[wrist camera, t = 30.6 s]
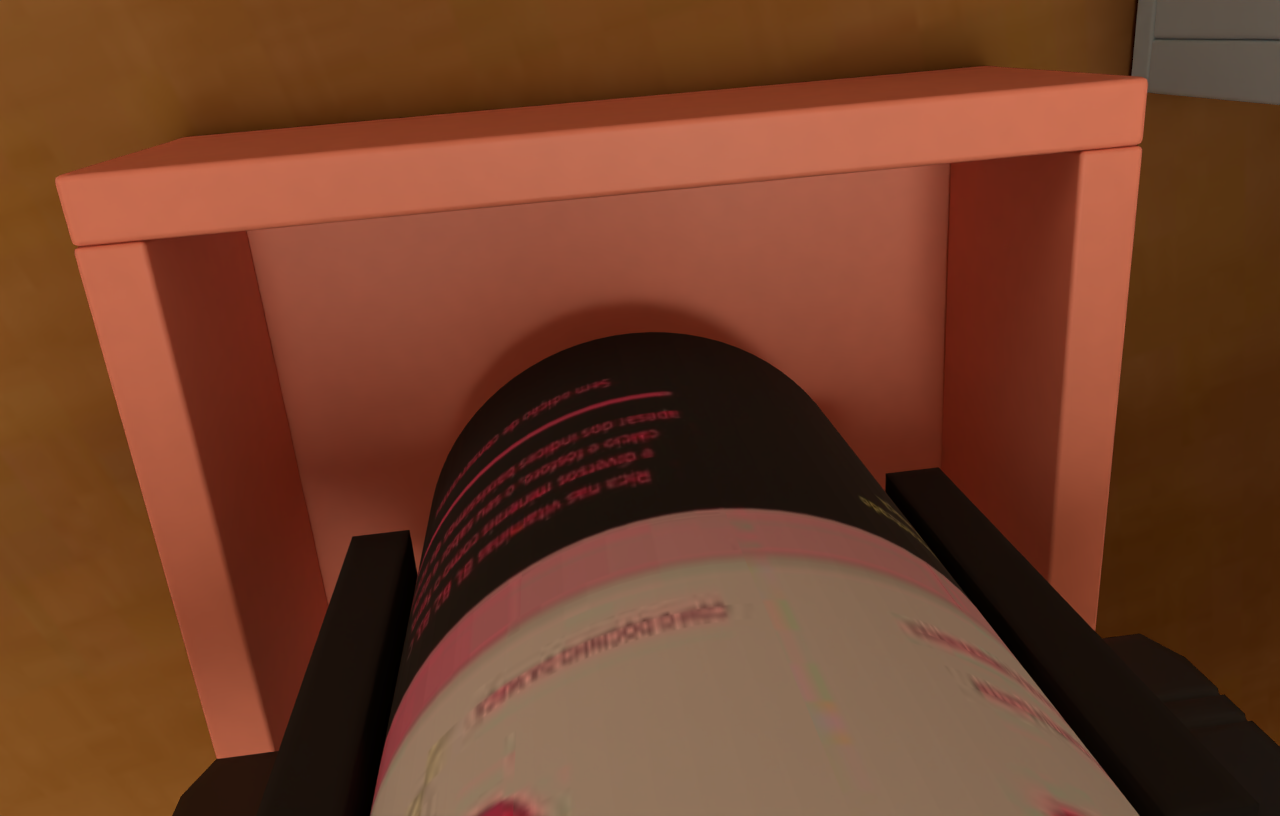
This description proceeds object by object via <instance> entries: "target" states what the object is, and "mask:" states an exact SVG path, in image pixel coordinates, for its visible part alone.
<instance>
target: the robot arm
mask: <svg viewBox="0 0 1280 816" xmlns="http://www.w3.org/2000/svg"><path fill="white" fill-rule="evenodd" d="M885 492H886V493H887V495H888V496H889V497H890V498H891V500H892V501H893V502H894V503H895V505H896V506H897V507H898V509H899V510H900V511H901V512H902V514H903V515H904V516H905V517H906V519H907V520H908V521H909V523H910V524H911V525H912V526H913V528H914V529H915V530H916V531H917V533H918V534H919V535H920V537H921V538H922V539H923V540H924V542H925V543H926V544H927V546H928V547H929V548H930V549H931V551H932V552H933V553H934V554H935V556H936V557H937V558H938V560H939V561H940V562H941V563H942V565H943V566H944V567H945V568H946V570H947V571H948V572H949V574H950V575H951V576H952V577H953V579H954V580H955V581H956V582H957V584H958V585H959V586H960V588H961V589H962V590H963V591H964V593H965V594H966V595H967V596H968V598H969V599H970V600H971V602H972V603H973V604H974V605H975V607H976V608H977V609H978V610H979V612H980V613H981V614H982V616H983V617H984V618H985V619H986V621H987V622H988V623H989V624H990V626H991V627H992V628H993V630H994V631H995V632H996V633H997V635H998V636H999V637H1000V638H1001V640H1002V641H1003V642H1004V644H1005V645H1006V646H1007V647H1008V649H1009V650H1010V651H1011V653H1012V654H1013V655H1014V656H1015V658H1016V659H1017V660H1018V661H1019V663H1020V664H1021V665H1022V667H1023V668H1024V669H1025V670H1026V672H1027V673H1028V674H1029V675H1030V677H1031V678H1032V679H1033V681H1034V682H1035V683H1036V684H1037V686H1038V687H1039V688H1040V689H1041V691H1042V692H1043V693H1044V695H1045V696H1046V697H1047V698H1048V700H1049V701H1050V702H1051V703H1052V705H1053V706H1054V707H1055V709H1056V710H1057V711H1058V712H1059V714H1060V715H1061V716H1062V717H1063V719H1064V720H1065V721H1066V723H1067V724H1068V725H1069V726H1070V728H1071V729H1072V730H1073V731H1074V733H1075V734H1076V735H1077V737H1078V738H1079V739H1080V740H1081V742H1082V743H1083V744H1084V745H1085V747H1086V748H1087V749H1088V751H1089V752H1090V753H1091V754H1092V756H1093V757H1094V758H1095V759H1096V761H1097V762H1098V763H1099V765H1100V766H1101V767H1102V768H1103V770H1104V771H1105V772H1106V774H1107V775H1108V776H1109V777H1110V779H1111V780H1112V781H1113V782H1114V784H1115V785H1116V786H1117V788H1118V789H1119V790H1120V791H1121V793H1122V794H1123V795H1124V796H1125V798H1126V799H1127V800H1128V802H1129V803H1130V804H1131V805H1132V807H1133V808H1134V809H1135V810H1136V812H1137V813H1138V814H1139V816H1280V747H1279V746H1278V745H1277V744H1276V743H1275V742H1274V741H1273V740H1272V739H1271V738H1270V737H1269V736H1268V735H1267V734H1265V733H1264V732H1263V731H1262V730H1261V729H1260V728H1259V727H1258V726H1257V725H1256V724H1255V723H1254V722H1253V721H1247V720H1246V718H1245V714H1244V713H1243V712H1242V711H1241V710H1240V709H1239V708H1238V707H1237V706H1236V705H1235V704H1234V703H1233V702H1232V701H1231V700H1230V699H1228V698H1227V697H1226V696H1225V695H1220V694H1219V692H1218V688H1217V687H1216V686H1215V685H1214V684H1213V683H1212V682H1211V681H1209V680H1208V679H1207V678H1206V677H1205V676H1204V675H1203V674H1202V673H1201V672H1200V671H1199V670H1198V669H1197V668H1196V667H1195V666H1194V665H1193V664H1191V663H1190V662H1189V661H1188V660H1187V659H1186V658H1185V657H1183V656H1181V655H1179V654H1177V653H1176V652H1174V651H1172V650H1170V649H1168V648H1166V647H1164V646H1162V645H1161V644H1159V643H1157V642H1155V641H1153V640H1151V639H1149V638H1147V637H1145V636H1144V635H1142V634H1133V635H1125V636H1118V637H1110V638H1103V639H1102V638H1101V637H1100V636H1099V635H1098V634H1097V633H1096V632H1095V631H1094V630H1093V629H1092V628H1091V627H1090V626H1089V625H1088V624H1087V622H1086V621H1085V620H1084V619H1083V618H1082V617H1081V616H1080V615H1079V614H1078V613H1077V612H1076V611H1075V610H1074V609H1073V608H1072V607H1071V606H1070V605H1069V604H1068V603H1067V601H1066V600H1065V599H1064V598H1063V597H1062V596H1061V595H1060V594H1059V593H1058V592H1057V591H1056V590H1055V589H1054V588H1053V587H1052V586H1051V585H1050V584H1049V583H1048V582H1047V580H1046V579H1045V578H1044V577H1043V576H1042V575H1041V574H1040V573H1039V572H1038V571H1037V570H1036V569H1035V568H1034V567H1033V566H1032V565H1031V564H1030V563H1029V562H1028V561H1027V559H1026V558H1025V557H1024V556H1023V555H1022V554H1021V553H1020V552H1019V551H1018V550H1017V549H1016V548H1015V547H1014V546H1013V545H1012V544H1011V543H1010V542H1009V541H1008V540H1007V538H1006V537H1005V536H1004V535H1003V534H1002V533H1001V532H1000V531H999V530H998V529H997V528H996V527H995V526H994V525H993V524H992V523H991V522H990V521H989V520H988V519H987V517H986V516H985V515H984V514H983V513H982V512H981V511H980V510H979V509H978V508H977V507H976V506H975V505H974V504H973V503H972V502H971V501H970V500H969V499H968V498H967V497H966V495H965V494H964V493H963V492H962V491H961V490H960V489H959V488H958V487H957V486H956V485H955V484H954V483H953V482H952V481H951V480H950V479H949V478H948V477H947V476H946V474H945V473H944V472H943V471H942V470H941V469H940V468H939V467H936V468H928V469H919V470H911V471H902V472H894V473H886V482H885ZM417 575H418V574H417V568H416V563H415V557H414V552H413V546H412V541H411V535H410V530H403V531H395V532H386V533H378V534H369V535H361V536H352V539H351V542H350V545H349V548H348V550H347V553H346V556H345V559H344V562H343V565H342V568H341V571H340V574H339V577H338V580H337V582H336V585H335V588H334V591H333V594H332V597H331V600H330V603H329V606H328V609H327V611H326V614H325V617H324V620H323V623H322V626H321V629H320V632H319V635H318V638H317V641H316V643H315V646H314V649H313V652H312V655H311V658H310V661H309V664H308V667H307V670H306V672H305V675H304V678H303V681H302V684H301V687H300V690H299V693H298V696H297V699H296V702H295V704H294V707H293V710H292V713H291V716H290V719H289V722H288V725H287V728H286V731H285V733H284V736H283V739H282V742H281V745H280V748H279V751H274V752H266V753H258V754H251V755H243V756H236V757H228V758H221V759H216V760H215V761H214V762H213V763H212V764H211V766H210V767H209V768H208V769H207V770H206V771H205V772H204V773H203V774H202V775H201V776H200V777H199V778H198V779H197V780H196V781H195V782H194V783H193V784H192V785H191V786H190V787H189V789H188V790H187V791H186V792H185V793H184V794H183V795H182V796H181V798H180V800H179V802H178V804H177V806H176V809H175V811H174V813H173V815H172V816H370V812H371V807H372V802H373V797H374V792H375V787H376V782H377V777H378V772H379V767H380V762H381V757H382V751H383V746H384V741H385V736H386V731H387V726H388V721H389V716H390V711H391V706H392V701H393V696H394V691H395V686H396V681H397V676H398V671H399V666H400V661H401V656H402V651H403V646H404V641H405V636H406V631H407V626H408V621H409V616H410V611H411V606H412V601H413V595H414V590H415V585H416V580H417Z"/></svg>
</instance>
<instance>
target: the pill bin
mask: <svg viewBox="0 0 1280 816" xmlns="http://www.w3.org/2000/svg"><path fill="white" fill-rule="evenodd" d="M1131 76H1138V77H1143V78H1146V79H1147V82H1148V89H1147V92H1150V93H1157V94H1168V95H1179V96H1189V97H1200V98H1211V99H1221V100H1232V101H1243V102H1253V103H1264V104H1275V105H1280V0H1138V9H1137V20H1136V31H1135V42H1134V53H1133V64H1132V75H1131Z"/></svg>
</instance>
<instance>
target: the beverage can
mask: <svg viewBox="0 0 1280 816" xmlns="http://www.w3.org/2000/svg"><path fill="white" fill-rule="evenodd" d="M370 816H1139V814H1138V813H1137V812H1136V810H1135V809H1134V808H1133V807H1132V805H1131V804H1130V803H1129V802H1128V800H1127V799H1126V798H1125V796H1124V795H1123V794H1122V793H1121V791H1120V790H1119V789H1118V788H1117V786H1116V785H1115V784H1114V782H1113V781H1112V780H1111V779H1110V777H1109V776H1108V775H1107V774H1106V772H1105V771H1104V770H1103V768H1102V767H1101V766H1100V765H1099V763H1098V762H1097V761H1096V759H1095V758H1094V757H1093V756H1092V754H1091V753H1090V752H1089V751H1088V749H1087V748H1086V747H1085V745H1084V744H1083V743H1082V742H1081V740H1080V739H1079V738H1078V737H1077V735H1076V734H1075V733H1074V731H1073V730H1072V729H1071V728H1070V726H1069V725H1068V724H1067V723H1066V721H1065V720H1064V719H1063V717H1062V716H1061V715H1060V714H1059V712H1058V711H1057V710H1056V709H1055V707H1054V706H1053V705H1052V703H1051V702H1050V701H1049V700H1048V698H1047V697H1046V696H1045V695H1044V693H1043V692H1042V691H1041V689H1040V688H1039V687H1038V686H1037V684H1036V683H1035V682H1034V681H1033V679H1032V678H1031V677H1030V675H1029V674H1028V673H1027V672H1026V670H1025V669H1024V668H1023V667H1022V665H1021V664H1020V663H1019V661H1018V660H1017V659H1016V658H1015V656H1014V655H1013V654H1012V653H1011V651H1010V650H1009V649H1008V647H1007V646H1006V645H1005V644H1004V642H1003V641H1002V640H1001V638H1000V637H999V636H998V635H997V633H996V632H995V631H994V630H993V628H992V627H991V626H990V624H989V623H988V622H987V621H986V619H985V618H984V617H983V616H982V614H981V613H980V612H979V610H978V609H977V608H976V607H975V605H974V604H973V603H972V602H971V600H970V599H969V598H968V596H967V595H966V594H965V593H964V591H963V590H962V589H961V588H960V586H959V585H958V584H957V582H956V581H955V580H954V579H953V577H952V576H951V575H950V574H949V572H948V571H947V570H946V568H945V567H944V566H943V565H942V563H941V562H940V561H939V560H938V558H937V557H936V556H935V554H934V553H933V552H932V551H931V549H930V548H929V547H928V546H927V544H926V543H925V542H924V540H923V539H922V538H921V537H920V535H919V534H918V533H917V531H916V530H915V529H914V528H913V526H912V525H911V524H910V523H909V521H908V520H907V519H906V517H905V516H904V515H903V514H902V512H901V511H900V510H899V509H898V507H897V506H896V505H895V503H894V502H893V501H892V500H891V498H890V497H889V496H888V495H887V493H886V492H885V491H884V489H883V488H882V487H881V486H880V484H879V483H878V482H877V481H876V479H875V478H874V477H873V475H872V474H871V473H870V472H869V470H868V469H867V468H866V467H865V465H864V464H863V463H862V461H861V460H860V459H859V458H858V456H857V455H856V454H855V453H854V451H853V450H852V449H851V447H850V446H849V445H848V444H847V442H846V441H845V440H844V439H843V437H842V436H841V435H840V433H839V432H838V431H837V430H836V428H835V427H834V426H833V425H832V423H831V422H830V421H829V419H828V418H827V417H826V416H825V414H824V413H823V412H822V410H821V409H820V408H819V407H818V405H817V404H816V403H815V402H814V401H813V400H812V399H811V397H810V396H809V395H808V394H807V393H806V392H805V391H804V390H803V389H802V388H801V387H800V386H799V385H797V384H796V383H795V382H794V381H793V380H792V379H790V378H789V377H788V376H787V375H785V374H784V373H783V372H781V371H780V370H779V369H777V368H775V367H774V366H772V365H771V364H769V363H768V362H766V361H764V360H762V359H761V358H759V357H757V356H755V355H753V354H751V353H749V352H746V351H744V350H742V349H740V348H737V347H735V346H732V345H729V344H726V343H723V342H720V341H716V340H712V339H708V338H704V337H699V336H694V335H688V334H680V333H669V332H641V333H628V334H621V335H613V336H609V337H604V338H599V339H595V340H592V341H588V342H585V343H581V344H578V345H575V346H573V347H570V348H567V349H565V350H562V351H560V352H558V353H556V354H553V355H551V356H549V357H547V358H545V359H543V360H541V361H540V362H538V363H536V364H534V365H532V366H531V367H529V368H528V369H526V370H525V371H523V372H522V373H520V374H519V375H517V376H516V377H514V378H513V379H512V380H510V381H509V382H508V383H507V384H505V385H504V386H503V387H501V388H500V389H499V390H498V391H497V392H496V393H495V394H494V395H493V396H492V397H490V398H489V399H488V400H487V401H486V402H485V404H484V405H483V406H482V407H481V408H480V409H479V410H478V411H477V412H476V413H475V415H474V416H473V417H472V418H471V420H470V421H469V422H468V423H467V425H466V426H465V427H464V429H463V431H462V432H461V434H460V435H459V437H458V438H457V440H456V441H455V443H454V445H453V447H452V449H451V450H450V452H449V454H448V456H447V458H446V461H445V463H444V465H443V468H442V470H441V473H440V476H439V478H438V481H437V484H436V488H435V492H434V496H433V500H432V505H431V510H430V515H429V520H428V525H427V530H426V535H425V540H424V545H423V550H422V555H421V560H420V565H419V570H418V575H417V580H416V585H415V590H414V595H413V601H412V606H411V611H410V616H409V621H408V626H407V631H406V636H405V641H404V646H403V651H402V656H401V661H400V666H399V671H398V676H397V681H396V686H395V691H394V696H393V701H392V706H391V711H390V716H389V721H388V726H387V731H386V736H385V741H384V746H383V751H382V757H381V762H380V767H379V772H378V777H377V782H376V787H375V792H374V797H373V802H372V807H371V812H370Z"/></svg>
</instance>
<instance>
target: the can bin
mask: <svg viewBox="0 0 1280 816" xmlns="http://www.w3.org/2000/svg"><path fill="white" fill-rule="evenodd" d="M1147 89H1148V82H1147V79H1146V78H1143V77H1138V76H1123V75H1109V74H1094V73H1080V72H1066V71H1051V70H1037V69H1022V68H1008V67H996V66H979V67H967V68H956V69H945V70H934V71H922V72H911V73H900V74H889V75H877V76H866V77H855V78H844V79H832V80H821V81H810V82H799V83H787V84H776V85H765V86H754V87H742V88H731V89H720V90H708V91H697V92H686V93H675V94H663V95H652V96H641V97H630V98H618V99H607V100H596V101H585V102H573V103H562V104H551V105H540V106H528V107H517V108H506V109H495V110H483V111H472V112H461V113H450V114H438V115H427V116H416V117H405V118H393V119H382V120H371V121H359V122H348V123H337V124H326V125H314V126H303V127H292V128H281V129H269V130H258V131H247V132H236V133H224V134H213V135H202V136H191V137H183V138H179V139H176V140H174V141H171V142H167V143H164V144H161V145H157V146H154V147H151V148H148V149H144V150H141V151H138V152H134V153H131V154H128V155H124V156H121V157H118V158H115V159H111V160H108V161H105V162H101V163H98V164H95V165H91V166H88V167H85V168H81V169H78V170H75V171H72V172H68V173H65V174H62V175H60V176H58V177H56V182H55V183H56V187H57V191H58V194H59V198H60V201H61V205H62V208H63V212H64V215H65V219H66V223H67V226H68V230H69V233H70V237H71V240H72V242H73V244H74V245H77V246H80V247H78V248H76V249H75V257H76V260H77V264H78V267H79V271H80V274H81V278H82V282H83V285H84V289H85V292H86V296H87V299H88V303H89V306H90V310H91V314H92V317H93V321H94V324H95V328H96V331H97V335H98V338H99V342H100V345H101V349H102V353H103V356H104V360H105V363H106V367H107V370H108V374H109V377H110V381H111V385H112V388H113V392H114V395H115V399H116V402H117V406H118V409H119V413H120V417H121V420H122V424H123V427H124V431H125V434H126V438H127V441H128V445H129V448H130V452H131V456H132V459H133V463H134V466H135V470H136V473H137V477H138V480H139V484H140V488H141V491H142V495H143V498H144V502H145V505H146V509H147V512H148V516H149V520H150V523H151V527H152V530H153V534H154V537H155V541H156V544H157V548H158V551H159V555H160V559H161V562H162V566H163V569H164V573H165V576H166V580H167V583H168V587H169V591H170V594H171V598H172V601H173V605H174V608H175V612H176V615H177V619H178V622H179V626H180V630H181V633H182V637H183V640H184V644H185V647H186V651H187V654H188V658H189V662H190V665H191V669H192V672H193V676H194V679H195V683H196V686H197V690H198V694H199V697H200V701H201V704H202V708H203V711H204V715H205V718H206V722H207V725H208V729H209V733H210V736H211V740H212V743H213V747H214V750H215V754H216V757H217V759H221V758H228V757H236V756H243V755H251V754H258V753H266V752H274V751H279V748H280V745H281V742H282V739H283V736H284V733H285V731H286V728H287V725H288V722H289V719H290V716H291V713H292V710H293V707H294V704H295V702H296V699H297V696H298V693H299V690H300V687H301V684H302V681H303V678H304V675H305V672H306V670H307V667H308V664H309V661H310V658H311V655H312V652H313V649H314V646H315V643H316V641H317V638H318V635H319V632H320V629H321V626H322V623H323V620H324V617H325V614H326V611H327V609H328V606H329V603H330V600H331V597H332V594H333V591H334V588H335V585H336V582H337V580H338V577H339V574H340V571H341V568H342V565H343V562H344V559H345V556H346V553H347V550H348V548H349V545H350V542H351V539H352V536H361V535H369V534H378V533H386V532H395V531H403V530H410V535H411V541H412V546H413V552H414V557H415V563H416V568H417V574H418V570H419V565H420V560H421V555H422V550H423V545H424V540H425V535H426V530H427V525H428V520H429V515H430V510H431V505H432V500H433V496H434V492H435V488H436V484H437V481H438V478H439V476H440V473H441V470H442V468H443V465H444V463H445V461H446V458H447V456H448V454H449V452H450V450H451V449H452V447H453V445H454V443H455V441H456V440H457V438H458V437H459V435H460V434H461V432H462V431H463V429H464V427H465V426H466V425H467V423H468V422H469V421H470V420H471V418H472V417H473V416H474V415H475V413H476V412H477V411H478V410H479V409H480V408H481V407H482V406H483V405H484V404H485V402H486V401H487V400H488V399H489V398H490V397H492V396H493V395H494V394H495V393H496V392H497V391H498V390H499V389H500V388H501V387H503V386H504V385H505V384H507V383H508V382H509V381H510V380H512V379H513V378H514V377H516V376H517V375H519V374H520V373H522V372H523V371H525V370H526V369H528V368H529V367H531V366H532V365H534V364H536V363H538V362H540V361H541V360H543V359H545V358H547V357H549V356H551V355H553V354H556V353H558V352H560V351H562V350H565V349H567V348H570V347H573V346H575V345H578V344H581V343H585V342H588V341H592V340H595V339H599V338H604V337H609V336H613V335H621V334H628V333H641V332H669V333H680V334H688V335H694V336H699V337H704V338H708V339H712V340H716V341H720V342H723V343H726V344H729V345H732V346H735V347H737V348H740V349H742V350H744V351H746V352H749V353H751V354H753V355H755V356H757V357H759V358H761V359H762V360H764V361H766V362H768V363H769V364H771V365H772V366H774V367H775V368H777V369H779V370H780V371H781V372H783V373H784V374H785V375H787V376H788V377H789V378H790V379H792V380H793V381H794V382H795V383H796V384H797V385H799V386H800V387H801V388H802V389H803V390H804V391H805V392H806V393H807V394H808V395H809V396H810V397H811V399H812V400H813V401H814V402H815V403H816V404H817V405H818V407H819V408H820V409H821V410H822V412H823V413H824V414H825V416H826V417H827V418H828V419H829V421H830V422H831V423H832V425H833V426H834V427H835V428H836V430H837V431H838V432H839V433H840V435H841V436H842V437H843V439H844V440H845V441H846V442H847V444H848V445H849V446H850V447H851V449H852V450H853V451H854V453H855V454H856V455H857V456H858V458H859V459H860V460H861V461H862V463H863V464H864V465H865V467H866V468H867V469H868V470H869V472H870V473H871V474H872V475H873V477H874V478H875V479H876V481H877V482H878V483H879V484H880V486H881V487H882V488H883V489H884V491H885V482H886V473H894V472H902V471H911V470H919V469H928V468H936V467H939V468H940V469H941V470H942V471H943V472H944V473H945V474H946V476H947V477H948V478H949V479H950V480H951V481H952V482H953V483H954V484H955V485H956V486H957V487H958V488H959V489H960V490H961V491H962V492H963V493H964V494H965V495H966V497H967V498H968V499H969V500H970V501H971V502H972V503H973V504H974V505H975V506H976V507H977V508H978V509H979V510H980V511H981V512H982V513H983V514H984V515H985V516H986V517H987V519H988V520H989V521H990V522H991V523H992V524H993V525H994V526H995V527H996V528H997V529H998V530H999V531H1000V532H1001V533H1002V534H1003V535H1004V536H1005V537H1006V538H1007V540H1008V541H1009V542H1010V543H1011V544H1012V545H1013V546H1014V547H1015V548H1016V549H1017V550H1018V551H1019V552H1020V553H1021V554H1022V555H1023V556H1024V557H1025V558H1026V559H1027V561H1028V562H1029V563H1030V564H1031V565H1032V566H1033V567H1034V568H1035V569H1036V570H1037V571H1038V572H1039V573H1040V574H1041V575H1042V576H1043V577H1044V578H1045V579H1046V580H1047V582H1048V583H1049V584H1050V585H1051V586H1052V587H1053V588H1054V589H1055V590H1056V591H1057V592H1058V593H1059V594H1060V595H1061V596H1062V597H1063V598H1064V599H1065V600H1066V601H1067V603H1068V604H1069V605H1070V606H1071V607H1072V608H1073V609H1074V610H1075V611H1076V612H1077V613H1078V614H1079V615H1080V616H1081V617H1082V618H1083V619H1084V620H1085V621H1086V622H1087V624H1088V625H1089V626H1090V627H1091V628H1092V629H1093V630H1094V631H1095V630H1096V620H1097V610H1098V599H1099V589H1100V579H1101V568H1102V558H1103V548H1104V538H1105V527H1106V517H1107V507H1108V497H1109V486H1110V476H1111V466H1112V455H1113V445H1114V435H1115V425H1116V414H1117V404H1118V394H1119V384H1120V373H1121V363H1122V353H1123V342H1124V332H1125V322H1126V312H1127V301H1128V291H1129V281H1130V271H1131V260H1132V250H1133V240H1134V230H1135V219H1136V209H1137V199H1138V188H1139V178H1140V168H1141V158H1142V148H1141V147H1140V146H1136V145H1137V144H1139V143H1141V141H1142V139H1143V130H1144V119H1145V109H1146V99H1147Z"/></svg>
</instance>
